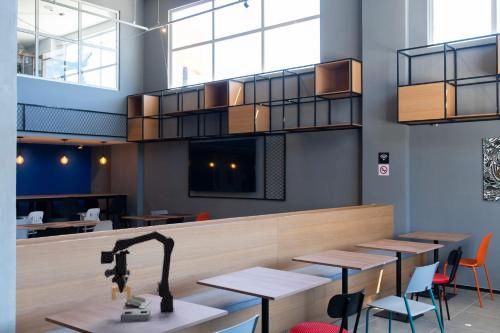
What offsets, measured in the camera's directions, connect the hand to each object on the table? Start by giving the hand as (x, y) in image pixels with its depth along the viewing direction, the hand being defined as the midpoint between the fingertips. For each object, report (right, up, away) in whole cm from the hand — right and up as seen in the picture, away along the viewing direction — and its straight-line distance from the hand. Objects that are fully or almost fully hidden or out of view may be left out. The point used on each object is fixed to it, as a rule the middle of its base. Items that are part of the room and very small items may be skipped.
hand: (121, 292), depth 253 cm
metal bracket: (+4, -13, +18) cm, 22 cm away
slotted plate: (+9, -12, -7) cm, 16 cm away
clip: (0, -4, 0) cm, 4 cm away
